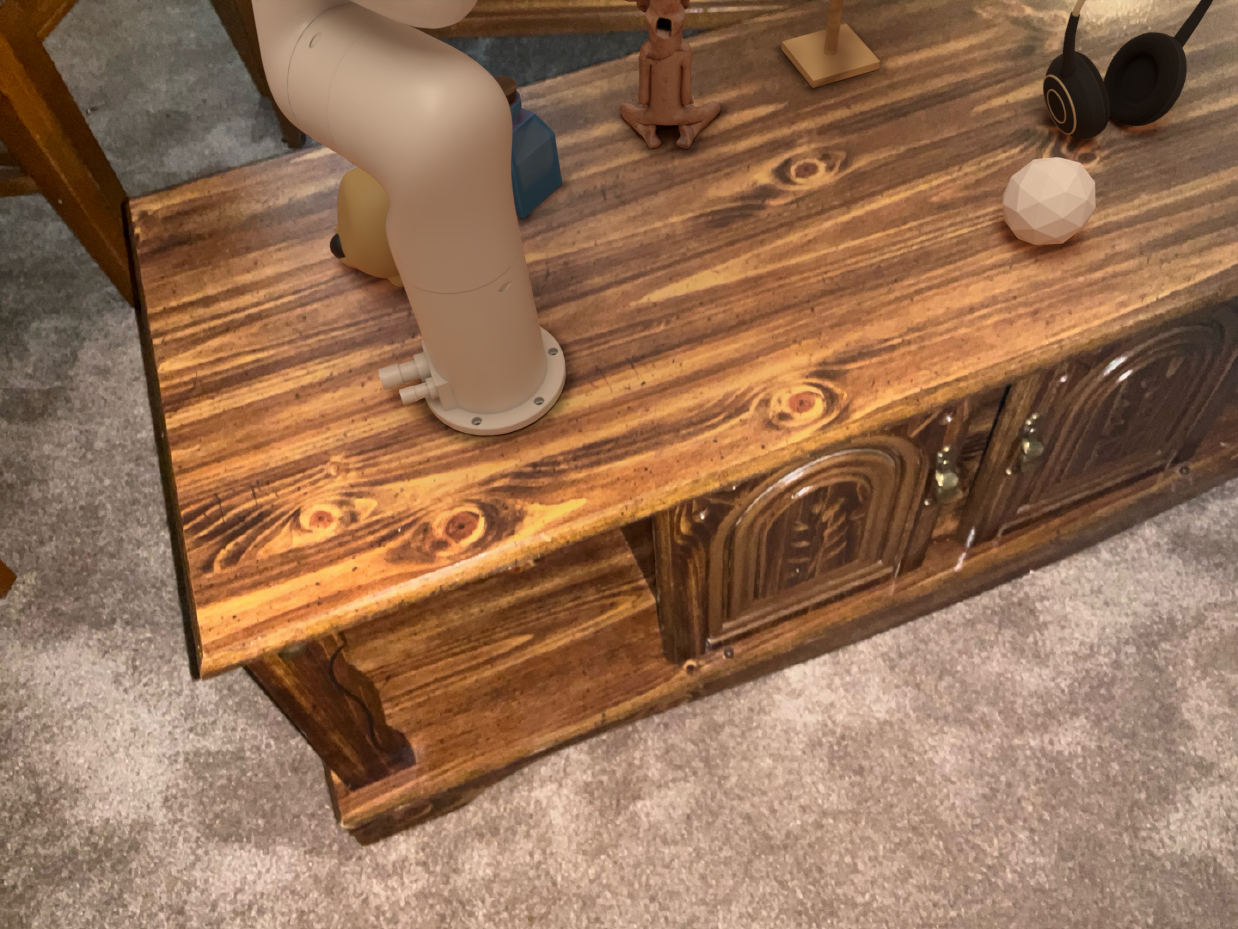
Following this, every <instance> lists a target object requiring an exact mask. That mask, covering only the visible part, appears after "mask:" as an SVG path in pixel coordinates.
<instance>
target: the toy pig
mask: <svg viewBox="0 0 1238 929" xmlns="http://www.w3.org/2000/svg"><path fill="white" fill-rule="evenodd" d="M338 186H339V187H338V192H337V193H338V194H337V204H336V217H337V218H336V219H337V225H335V226H334V227H333V231H335V233H334V235H333V236H332V237H331V238H330V241H329V250H330V252H331V254H332V255H333V256H334V257H335V258H336V259H338V260H339V261H340V262H341V263H342V264H343V265H344V266H347V267H349V268H352V269H357V270H359V271H360V272H363V273H364V274H367V275H369V276H372V277H375V278H379V279H380V278H381V279H387V280H389V282H390V283H391V284H392V285H393V286H394V287H397V288H403V287H404V285H403V282H402V280H401V277H400V274H399V271H398V269H397V267H396V264H395V261H394V259H393V256H392V253H391V250H390V247H389V243H388V239H387V235H386V218H387V214H388V211H389V208H390V201H389V197H388V195H387V193H386V191H385V189H384V188H383V187H382V186H381V184H380V183H379V182H378V181H377V180H376V179H375V178H373V177H372V176H371V175H370V174H368V173H367V172H365V171H364V170H362V169H361V168H359V167H357V166H356V167H354V168H353V169H350V170H349V171H347V172H346V173H345V174H344V175H343V176H342V178H341V179H340V182H339V185H338Z"/></svg>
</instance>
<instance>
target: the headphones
mask: <svg viewBox="0 0 1238 929" xmlns="http://www.w3.org/2000/svg"><path fill="white" fill-rule="evenodd" d="M1086 1H1087V0H1077V2H1076V3H1075V5H1074V7H1073V9H1072V11H1070V13H1069V17H1068V21H1067V25H1066V28H1065V30H1064V31H1065V32H1064V37H1063V45H1062V46H1063V47H1062V53H1061V54H1059V55H1057V56H1056V57H1055V58H1054V59H1052V60H1051V62H1050V64H1049V66H1048V68H1047V70H1046V73H1045V76H1044V79H1043V82H1042V95H1043V100H1044V102H1045V103H1044V104H1045V107H1046V109H1047V112H1048V114H1049V116H1050V118H1051V120H1052V122H1053V123H1054V125H1055V126H1056V128H1057V129H1058V130H1059V131H1060V132H1061V133H1063V134H1064V135H1067V136H1069V137H1072V138H1074V139H1077V140H1081V141H1088V140H1091V139H1093V138H1094V137H1097V136H1099V135H1100V134H1102V132H1103V131H1104V130H1105V129H1106V128H1107V126H1108V123H1109V120H1110V118H1112V119H1113V120H1114V121H1116V122H1117V123H1118V124H1121V125H1122V126H1127V127H1144V126H1148V125H1150V124H1153V123H1155V122H1156V121H1158V120H1160V119H1161V118H1163V117H1164V116H1166V114H1168V112H1170V110H1172V108H1173V107H1174V105H1175V104H1176V102H1177V101H1178V99H1179V98H1180V96H1181V93H1182V92H1183V89H1184V87H1185V83H1186V80H1187V74H1188V73H1187V72H1188V63H1187V62H1188V61H1187V56H1186V53H1185V50H1184V46H1186V44H1187V42H1188V41H1189V39H1190V38H1191V36H1192V35H1193V34H1194V32H1195V30H1196V29H1197V27H1198V26H1199V24H1200V23H1201V22H1202V20H1203V18H1204V17H1205V15H1206V13H1207V12H1208V11H1209V9H1210V6H1211V5H1212V3H1213V1H1214V0H1200V1H1199V2H1198V3H1197V5H1196V6H1195V8H1194V9H1193V11H1192V12H1191V13H1190V15H1189V16H1188V17H1187V19H1185V21H1184V22H1183V24H1182V25H1181V26H1180V28H1179V29H1178V30H1177V32H1176V33H1175V35H1174V36H1172V35H1169V34H1167V33H1164V32H1155V31H1148V32H1143V33H1141V34H1139V35H1136V36H1134V37H1133V38H1131V39H1129V40H1128V41H1127V42H1125V43H1124V44H1123V45H1122V46H1121V47H1120V48H1119V49H1118V50H1117V51H1116V53H1115V54H1114V55H1113V57H1112V59H1111V60H1110V62H1109V63H1108V66H1107V69H1106V72H1105V75H1104V78H1103V76H1102V75H1101V73H1100V70H1098V68H1097V66H1096V64H1094V62H1093V61H1092V60H1091V59H1090V58H1089V56H1087V55H1086V54H1084V53H1082V52H1080V51H1076V36H1077V30H1078V25H1079V22H1080V18H1081V14H1080V13H1081V11H1082V8H1083V6H1084V4H1085V2H1086Z"/></svg>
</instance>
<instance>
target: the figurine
mask: <svg viewBox="0 0 1238 929" xmlns="http://www.w3.org/2000/svg"><path fill="white" fill-rule="evenodd" d="M624 1H625V2H627V3H635V4H636V7H637V9H638V10H639V11H641V12H642V13H645V14H644V22H645V24H646V26H647V29H648V37H649V38H648V39H647V40H646V41H645V42H644V43H643V44H641V47H640V49H639V54H638V92H637V94H636V96H635V102H636V104H637V105H642V106H641V107H637V105H634V104H632V103H630V102H623V103H620V106H619V112H620V115H621V116H622V118H623V119H624V120H625V121H626V122H627V123H628V124H629V125H630V126H631V127H632V128H633V129H634V130H635V131H636V132H637V133H638V134H639V135H640V136H641V137H642V138H643V139H644V141H645V143H646V145H647V147H648V148H649V149H656V148H658V147H660V145H661V144H662V143H661V142H662V141H661V140H660V138H659V137H658V135H657V133H656V131H657V126H678V132H679V134H680V136H679V137H678V139H677V140H676V143H675V144H676V146H677V147H680V148H682V149H684V150H686V149H690V148H691V146H692V144H693V142H694V139H695V138H696V137H697V135H698V134H699V133H700V132H701V130H702V129H704V128H705V127H707V126H708V125H709V123H711V122H712V120H714V119H715V118H716V117H717V116H718V115H719V114H720V112H721V105H720V103H719V102H718V101H716V100H712V101H709V102H707V103H704V104H702V105H700V106H695V105H694V104H695V95H694V94H693V93H692V65H693V53H692V46H691V44H690V42H689V41H688V40H686V39H684V38H683V37H684V36H683V29H684V23H685V21H686V10H687V9H688V8H689V7H691V0H624Z"/></svg>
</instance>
